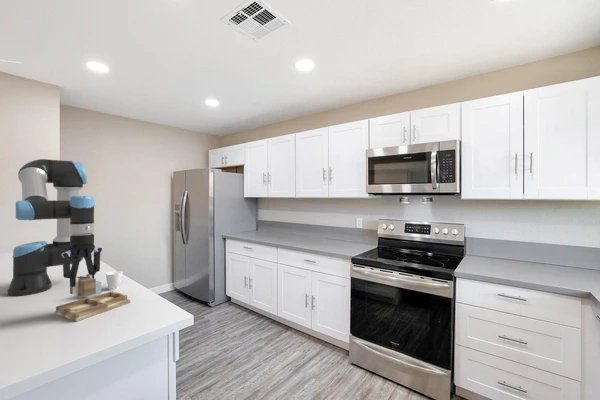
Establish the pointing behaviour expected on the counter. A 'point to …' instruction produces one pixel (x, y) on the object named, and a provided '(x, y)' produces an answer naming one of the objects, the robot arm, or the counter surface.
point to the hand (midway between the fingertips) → (82, 292)
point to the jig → (91, 306)
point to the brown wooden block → (85, 286)
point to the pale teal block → (98, 290)
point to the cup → (114, 279)
